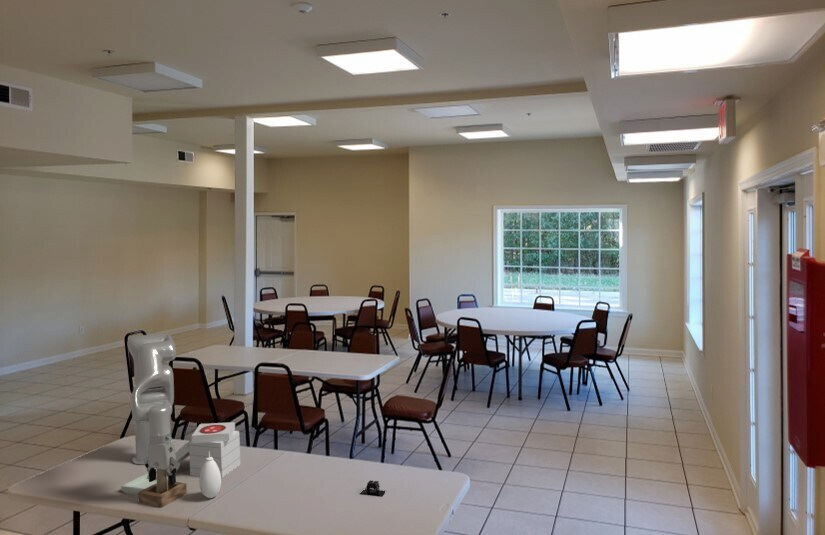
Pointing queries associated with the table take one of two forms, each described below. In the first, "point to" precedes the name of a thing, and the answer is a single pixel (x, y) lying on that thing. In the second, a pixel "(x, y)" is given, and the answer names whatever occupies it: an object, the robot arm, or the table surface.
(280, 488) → the table surface
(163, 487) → the handle
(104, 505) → the table surface
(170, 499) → the small wooden box
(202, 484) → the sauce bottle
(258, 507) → the table surface
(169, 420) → the robot arm
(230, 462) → the pizza box stack
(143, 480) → the tray
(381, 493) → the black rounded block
